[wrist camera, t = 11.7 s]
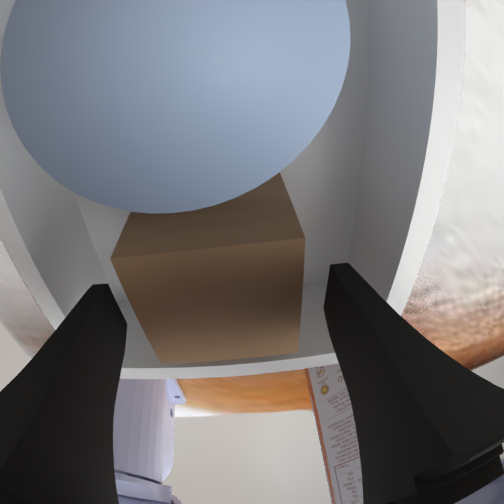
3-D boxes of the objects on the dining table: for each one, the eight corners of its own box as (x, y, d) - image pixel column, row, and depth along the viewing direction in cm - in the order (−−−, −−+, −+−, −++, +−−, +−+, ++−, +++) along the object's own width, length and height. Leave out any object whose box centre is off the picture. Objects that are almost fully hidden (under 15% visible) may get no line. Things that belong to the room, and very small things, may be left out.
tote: (353, 282, 17) (383, 354, 13) (111, 303, 17) (91, 377, 13) (377, -66, 6) (450, -96, 2) (27, -25, 5) (-51, -31, 2)
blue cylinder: (281, 101, 10) (356, 185, 5) (144, 127, 10) (60, 239, 5) (261, -28, 7) (320, -119, 1) (115, 4, 7) (-16, -20, 2)
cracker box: (437, 350, 24) (502, 541, 8) (387, 382, 27) (436, 566, 10) (366, 291, 18) (462, 623, 1) (295, 343, 20) (346, 639, 4)
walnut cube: (278, 263, 15) (298, 352, 11) (173, 273, 14) (161, 363, 11) (275, 162, 12) (305, 238, 8) (147, 177, 11) (110, 258, 7)
